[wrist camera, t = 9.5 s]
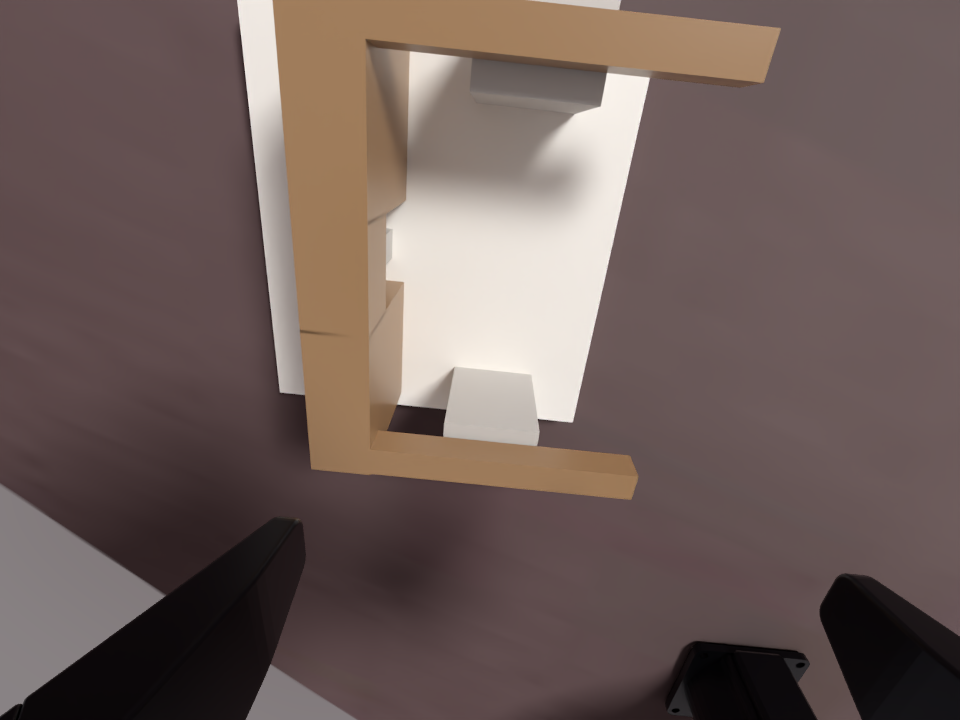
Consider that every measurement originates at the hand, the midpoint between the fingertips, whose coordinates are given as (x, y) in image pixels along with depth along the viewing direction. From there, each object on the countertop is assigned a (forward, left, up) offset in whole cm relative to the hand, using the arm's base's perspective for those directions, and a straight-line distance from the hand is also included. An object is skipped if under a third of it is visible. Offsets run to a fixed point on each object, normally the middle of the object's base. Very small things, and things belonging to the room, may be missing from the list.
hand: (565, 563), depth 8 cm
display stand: (+3, +4, -11) cm, 12 cm away
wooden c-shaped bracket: (+3, +2, -10) cm, 11 cm away
